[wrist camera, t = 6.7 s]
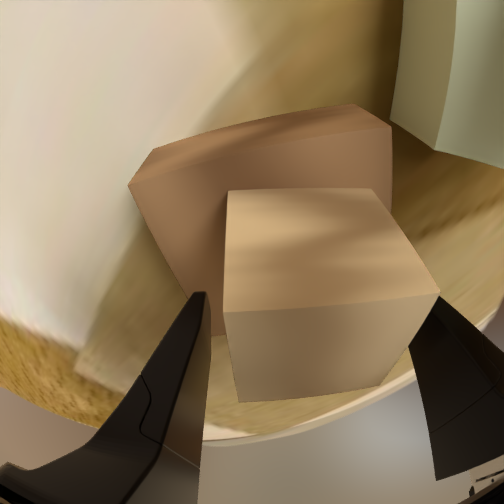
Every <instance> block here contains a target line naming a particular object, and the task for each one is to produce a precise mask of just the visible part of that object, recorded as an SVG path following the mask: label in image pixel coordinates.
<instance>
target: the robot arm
mask: <svg viewBox="0 0 504 504" xmlns="http://www.w3.org/2000/svg"><path fill="white" fill-rule="evenodd" d="M408 348H409V351H410V355H411V358H412V362H413V365H414V369H415V373H416V377H417V380H418V384H419V389H420V393H421V397H422V401H423V406H424V411H425V415H426V420H427V426H428V430H429V437H430V443H431V449H432V455H433V462H434V469H435V478H436V481H438V480H441V479H444V478H447V477H450V476H453V475H456V474H459V473H462V472H465V471H467V470H469V472H470V478H471V482H472V487H471V489H470V491H469V495H470V497H469V498H467V499H465V500H464V501H462V502H460V503H458V504H504V352H502V351H501V350H500V349H499V348H498V347H497V346H496V345H494V344H493V343H492V342H491V341H490V340H489V339H488V338H487V337H486V336H485V335H484V334H482V333H481V332H480V331H479V330H478V329H477V328H476V327H475V326H474V325H473V324H472V323H470V322H469V321H468V320H467V319H466V318H465V317H464V316H462V315H461V314H460V313H459V312H458V311H457V310H456V309H454V308H453V307H452V306H451V305H450V304H449V303H447V302H446V301H445V300H444V299H443V298H441V297H440V296H438V298H437V300H436V302H435V303H434V305H433V307H432V309H431V310H430V312H429V314H428V315H427V317H426V319H425V320H424V322H423V324H422V325H421V327H420V328H419V330H418V331H417V333H416V335H415V336H414V338H413V339H412V341H411V342H410V344H409V345H408ZM210 362H211V309H210V304H209V299H208V295H207V292H206V291H195V292H193V293H192V295H191V296H190V298H189V299H188V301H187V302H186V304H185V305H184V307H183V308H182V310H181V311H180V313H179V314H178V316H177V317H176V319H175V320H174V322H173V323H172V325H171V327H170V328H169V330H168V331H167V333H166V334H165V336H164V337H163V339H162V340H161V342H160V343H159V345H158V346H157V348H156V350H155V351H154V353H153V354H152V356H151V357H150V359H149V360H148V362H147V364H146V365H145V367H144V368H143V370H142V371H141V375H139V376H138V377H137V379H136V381H135V382H134V384H133V385H132V387H131V388H130V390H129V391H128V393H127V394H126V396H125V397H124V398H123V400H122V401H121V402H120V404H119V405H118V406H117V408H116V409H115V410H114V411H113V413H112V414H111V415H110V416H109V418H108V419H107V420H106V421H105V422H104V424H103V425H102V426H101V427H100V429H99V430H98V431H97V432H96V434H95V435H94V436H93V437H92V438H91V439H90V440H89V441H88V442H87V443H86V444H85V445H83V446H82V447H80V448H78V449H76V450H74V451H72V452H71V453H68V454H67V455H64V456H62V457H61V458H58V459H56V460H54V461H52V462H50V463H48V464H46V465H43V466H41V467H39V468H37V469H33V470H27V469H24V468H22V467H19V466H17V465H15V464H12V463H9V462H7V463H5V464H4V465H2V466H1V467H0V504H197V499H198V486H199V473H200V469H199V468H200V461H201V450H202V439H203V428H204V418H205V408H206V398H207V389H208V380H209V370H210Z"/></svg>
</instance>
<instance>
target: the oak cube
mask: <svg viewBox="0 0 504 504" xmlns="http://www.w3.org/2000/svg"><path fill="white" fill-rule="evenodd" d="M440 293H441V292H440V290H439V288H438V286H437V285H436V283H435V281H434V280H433V278H432V276H431V275H430V273H429V271H428V270H427V268H426V266H425V265H424V263H423V262H422V260H421V258H420V257H419V255H418V254H417V252H416V251H415V249H414V248H413V246H412V245H411V243H410V242H409V240H408V239H407V237H406V236H405V234H404V233H403V231H402V230H401V228H400V227H399V226H398V224H397V223H396V221H395V220H394V218H393V217H392V216H391V214H390V213H389V212H388V210H387V209H386V207H385V206H384V205H383V203H382V202H381V201H380V199H379V198H378V197H377V196H376V194H375V193H374V192H373V190H372V189H368V188H284V189H253V190H232V191H228V199H227V219H226V241H225V265H224V294H223V316H224V322H225V328H226V334H227V340H228V346H229V352H230V357H231V363H232V369H233V374H234V380H235V385H236V390H237V396H238V401H239V402H258V401H274V400H286V399H296V398H306V397H314V396H322V395H329V394H336V393H342V392H348V391H354V390H359V389H365V388H370V387H375V386H379V385H380V384H381V383H382V381H383V380H384V379H385V377H386V376H387V375H388V373H389V372H390V371H391V369H392V368H393V367H394V365H395V364H396V362H397V361H398V360H399V358H400V357H401V355H402V354H403V353H404V351H405V350H406V348H407V347H408V345H409V344H410V342H411V341H412V339H413V338H414V336H415V335H416V333H417V331H418V330H419V328H420V327H421V325H422V324H423V322H424V320H425V319H426V317H427V315H428V314H429V312H430V310H431V309H432V307H433V305H434V303H435V302H436V300H437V298H438V296H439V294H440Z"/></svg>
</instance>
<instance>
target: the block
mask: <svg viewBox="0 0 504 504" xmlns="http://www.w3.org/2000/svg"><path fill="white" fill-rule="evenodd" d="M389 120H391V121H392V122H394V123H396V124H397V125H399V126H400V127H402V128H403V129H405V130H406V131H408V132H409V133H411V134H412V135H414V136H415V137H417V138H418V139H420V140H421V141H423V142H424V143H425V144H427V145H428V146H429V147H431V148H432V149H434V150H437V151H441V152H445V153H449V154H453V155H457V156H461V157H465V158H468V159H472V160H476V161H479V162H482V163H486V164H489V165H492V166H495V167H498V168H502V169H503V168H504V0H404V6H403V22H402V34H401V44H400V53H399V62H398V69H397V77H396V84H395V90H394V96H393V102H392V108H391V114H390V119H389Z"/></svg>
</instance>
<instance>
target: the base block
mask: <svg viewBox="0 0 504 504" xmlns="http://www.w3.org/2000/svg"><path fill="white" fill-rule="evenodd" d="M128 187H129V189H130V192H131V194H132V196H133V198H134V200H135V202H136V204H137V206H138V208H139V210H140V212H141V214H142V216H143V218H144V220H145V222H146V224H147V226H148V228H149V230H150V232H151V233H152V235H153V237H154V239H155V241H156V243H157V245H158V247H159V249H160V250H161V252H162V254H163V256H164V258H165V260H166V261H167V263H168V265H169V267H170V269H171V270H172V272H173V274H174V276H175V278H176V279H177V281H178V283H179V285H180V286H181V288H182V290H183V291H184V293H185V295H186V297H187V298H188V299H189V298H190V296H191V295H192V293H193V292H195V291H206V292H207V295H208V299H209V304H210V309H211V336H218V335H225V334H226V328H225V322H224V316H223V294H224V265H225V241H226V219H227V199H228V191H232V190H253V189H284V188H368V189H372V190H373V192H374V193H375V194H376V196H377V197H378V198H379V199H380V201H381V202H382V203H383V205H384V206H385V207H386V209H387V210H388V212H389V213H390V214H391V205H392V128H391V126H389V125H388V124H386V123H385V122H383V121H382V120H380V119H379V118H377V117H376V116H374V115H372V114H371V113H369V112H367V111H366V110H364V109H363V108H361V107H359V106H357V105H356V104H346V105H338V106H331V107H323V108H317V109H310V110H304V111H298V112H293V113H287V114H282V115H277V116H272V117H267V118H263V119H258V120H253V121H249V122H245V123H241V124H236V125H232V126H229V127H225V128H221V129H217V130H213V131H210V132H206V133H203V134H199V135H196V136H192V137H189V138H186V139H182V140H179V141H176V142H173V143H170V144H167V145H164V146H161V147H158V148H155V149H153V150H152V152H151V153H150V154H149V156H148V157H147V158H146V160H145V161H144V162H143V164H142V165H141V167H140V168H139V170H138V171H137V172H136V174H135V175H134V177H133V178H132V180H131V181H130V183H129V184H128Z"/></svg>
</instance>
